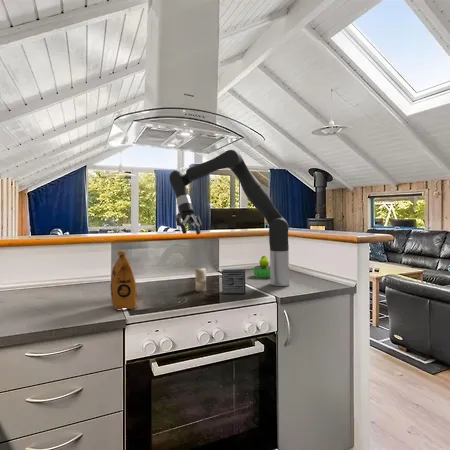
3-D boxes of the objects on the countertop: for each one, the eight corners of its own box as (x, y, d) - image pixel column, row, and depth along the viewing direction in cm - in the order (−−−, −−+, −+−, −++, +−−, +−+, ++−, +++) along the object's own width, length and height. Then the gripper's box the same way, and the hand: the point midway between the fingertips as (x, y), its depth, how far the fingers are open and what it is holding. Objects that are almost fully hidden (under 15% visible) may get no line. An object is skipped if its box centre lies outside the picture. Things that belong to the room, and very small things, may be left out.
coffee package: (110, 312, 121) (108, 255, 120) (111, 303, 133) (109, 251, 132) (138, 309, 124) (136, 253, 123) (136, 301, 136) (134, 249, 135)
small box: (245, 290, 150) (245, 268, 149) (245, 294, 143) (245, 271, 142) (223, 290, 151) (223, 268, 150) (221, 294, 144) (221, 271, 144)
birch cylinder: (206, 288, 154) (206, 268, 154) (205, 291, 149) (205, 270, 149) (196, 288, 155) (196, 268, 154) (194, 291, 150) (194, 270, 149)
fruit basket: (252, 277, 178) (252, 257, 177) (255, 274, 186) (255, 255, 186) (272, 278, 175) (272, 258, 174) (275, 275, 183) (275, 255, 182)
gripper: (177, 200, 159) (184, 229, 153) (199, 203, 169) (207, 231, 163) (169, 207, 164) (176, 236, 158) (191, 210, 174) (198, 237, 168)
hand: (192, 233), depth 160 cm, fingers open, 8 cm apart
